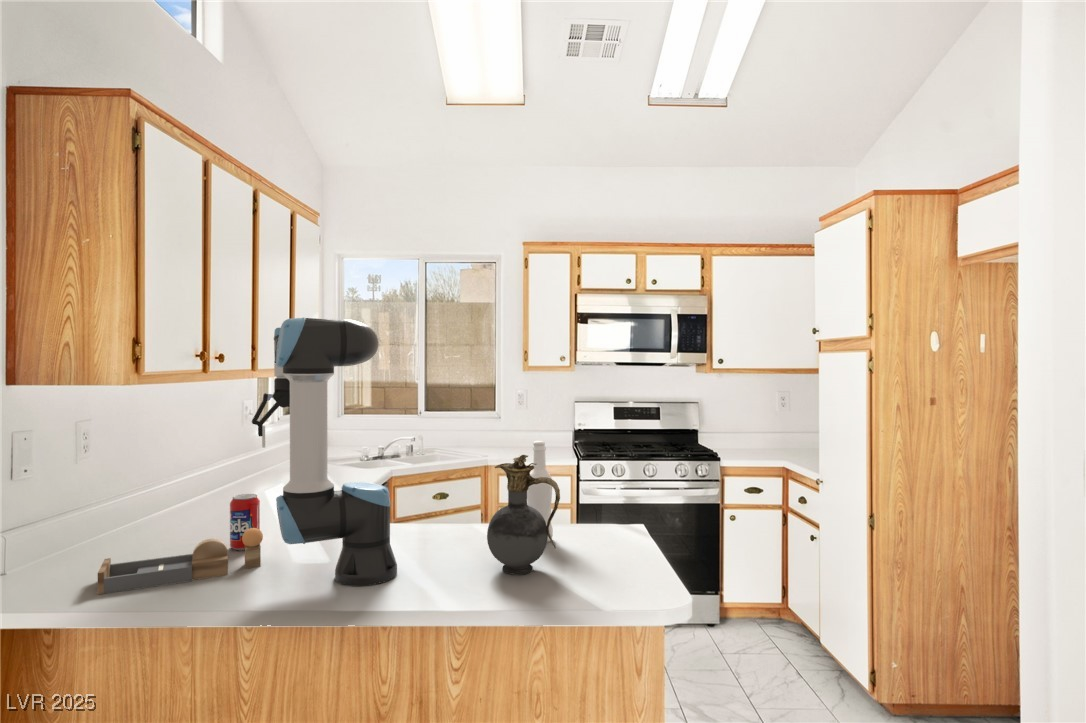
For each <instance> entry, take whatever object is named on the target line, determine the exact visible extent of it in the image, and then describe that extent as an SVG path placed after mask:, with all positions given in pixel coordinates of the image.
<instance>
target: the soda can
mask: <svg viewBox="0 0 1086 723" xmlns="http://www.w3.org/2000/svg"><path fill="white" fill-rule="evenodd" d="M231 498H232V499H231V501H230V502H229V547H230V548H231V549H233V550H235V551H245V545H244V543H243V541H242V536H243V534H244V532H245V531H246V530H248V529H250V528H257V529H259V530H260V531H261V525H260V524H261V508H260V505H261V504H260V503H261V501H260V499H259V498H258V495H257V494H255V493H241V494H237V495H234V496H233V495H232V497H231Z"/></svg>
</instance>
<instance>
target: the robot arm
mask: <svg viewBox="0 0 1086 723" xmlns="http://www.w3.org/2000/svg"><path fill="white" fill-rule="evenodd" d="M273 341H274V342H273V345H274V347H273V350H274V364H273V366H274V368H273V370H274V372H273V373H274V374H273V376H274V377H275V378H274V380H273V381H274V383H273V384H274V385H273V387H274V390H273V393H266V392H265V393H263V396H262V401H261V402H260V405H259V407H258V408H257V410H256V412H255V414H254V415H253V418H252V420H251V424H252V425H256V426H257V435H258V437H261V446H262V447H261V448H266V425H265V423H266V421H267V420H268V419H269V418H271V416H272V415H273V413H274V412H275V411H276V410H277V409H279V407H281V408H285V409H286V408H289V481H288V482H287V483H286V484H285V485H284V486H283V488H282V494H281V495H279V496H277V497H276V498H275V501H276V511H277V518H278V519H277V520H278V526H279V529H280V534H281V538H282V540H283V542H284V543H285V544H287V545H298V544H303V545H305V544H307V543H308V544H309V543H314V542H322V541H330V540H331V541H332V540H337V539H342V541H341V542H342V547H341V550H340V554H339V557H338V560H337V563H336V565H335V570H334V580H335V581H336V582H337V583H339V584H341V585H345V586H350V587H364V586H374V585H378V584H383V583H386V582H389V581H391V580H393V579H394V578H395V577H396V576H397V574H398V563H397V560H396V557H395V554H394V552H393V548H392V545H391V506H392V504H391V498H390V497H391V496H390V491H389V489H388V487H386V486H384V485H381V484H378V483H373V482H365V481H364V482H363V481H359V482H358V481H352V482H345V483H343V484H342V486H341V490H340V489H339V490H335V484H334V483H333V482H332V481H331V480H330V479H329V478H328V381H329V380H330V379H331V377H333V376H334V375H335V367H351V366H355V365H361V364H363V363H365V362H368V361H370V360H371V359H372V358H374V357H375V355H376V353H377V351H378V350H379V338H378V336H377V333H376V332H375V331H374V330H373V328H371V327H370V326H369V325H367V324H365V323H363V322H360V321H357V320H353V319H347V318H346V319H343V318H342V319H341V318H340V319H338V318H311V317H310V318H309V317H295V318H294V317H293V318H287V319H285V320H283V321H282V323H281V326H280V327H276V328H275V329H274V336H273ZM271 399H273V400H274V402H275V403H274V404H273V405H272V406H271V408H269V410H268V411H266V413H265V414H264V415H263V417H261V419H260V416H261V415H262V412H263V410H264V408H265V407H266V405H267V403H268V402H269V401H271ZM259 419H260V420H259Z"/></svg>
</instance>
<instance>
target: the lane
mask: <svg viewBox="0 0 1086 723" xmlns="http://www.w3.org/2000/svg"><path fill="white" fill-rule="evenodd" d="M192 556H193V553H189V554H188V553H187V554H179V555H173V556H165V557H156V558H149V559H141V560H133V561H126V562H117V563H111V564H110V577H106V578H104V594H103V595H105V594H110V593H111V594H112V593H117V592H124V591H133V590H138V589H145V588H152V587H157V586H158V587H160V586H167V585H173V584H174V585H175V584H180V583H188V582H192V581H193V580H192Z"/></svg>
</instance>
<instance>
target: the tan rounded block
mask: <svg viewBox="0 0 1086 723" xmlns="http://www.w3.org/2000/svg"><path fill="white" fill-rule="evenodd" d="M192 554H193V556H192V581H193V580H200V579H206V578H207V579H208V578H216V577H221V576H228V575H229V558H228V548H227V545H226V544H225V543H224V542H223V541H222V540H221V539H218V538H212V537H211V538H207V539H204V540H202V541H200V542H198V543H197V544H196V546H195V547H194V549H193V552H192Z"/></svg>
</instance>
